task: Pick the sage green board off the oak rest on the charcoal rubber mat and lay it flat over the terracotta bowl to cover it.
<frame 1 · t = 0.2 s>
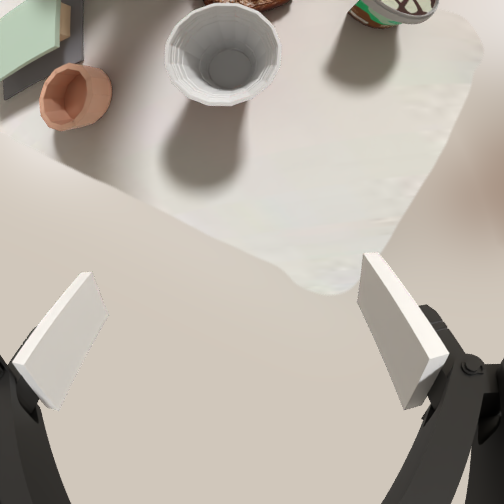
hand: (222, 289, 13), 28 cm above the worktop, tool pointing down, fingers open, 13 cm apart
food container: (383, 16, 27), on the worktop
sheet: (20, 35, 22), point 5 cm above the worktop, touching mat
bowl: (86, 96, 32), on the worktop
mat: (39, 39, 26), on the worktop
plastic cup: (231, 70, 32), on the worktop
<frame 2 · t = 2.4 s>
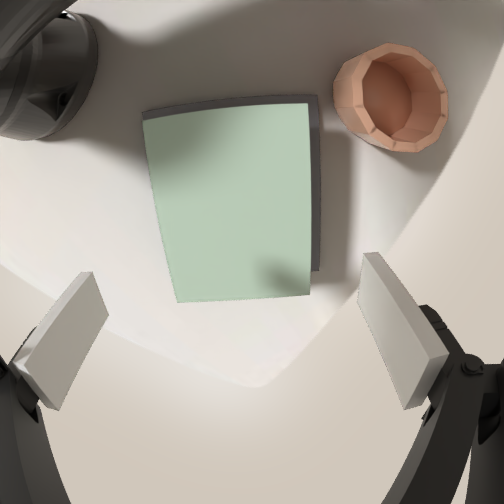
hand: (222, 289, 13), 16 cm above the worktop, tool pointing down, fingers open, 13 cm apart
sheet: (233, 208, 23), point 5 cm above the worktop, touching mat
bowl: (375, 98, 23), on the worktop
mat: (236, 192, 28), on the worktop
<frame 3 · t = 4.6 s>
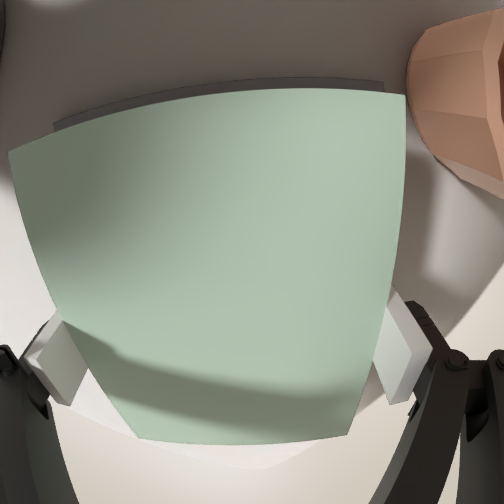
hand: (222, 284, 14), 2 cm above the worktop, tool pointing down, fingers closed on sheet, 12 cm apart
sheet: (216, 328, 11), point 5 cm above the worktop, touching gripper, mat
bowl: (468, 99, 11), on the worktop
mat: (226, 264, 15), on the worktop
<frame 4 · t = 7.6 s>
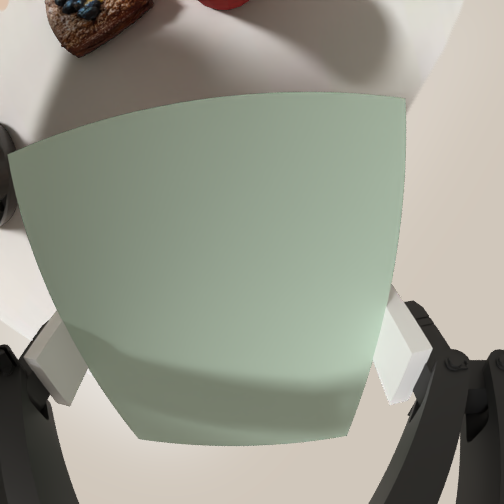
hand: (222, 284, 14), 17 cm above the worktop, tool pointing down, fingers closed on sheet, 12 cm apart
sheet: (216, 330, 11), point 20 cm above the worktop, touching gripper
pastry: (101, 3, 19), on the worktop
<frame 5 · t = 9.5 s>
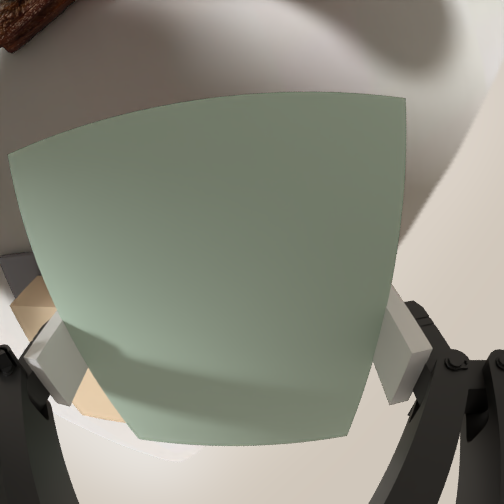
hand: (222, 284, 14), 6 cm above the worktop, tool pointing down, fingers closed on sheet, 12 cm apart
sheet: (216, 330, 11), point 9 cm above the worktop, touching gripper
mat: (92, 335, 23), on the worktop
when the fingers open (5 cm above the worktop, at t = 10.9 s): sheet drops 2 cm, resting on bowl.
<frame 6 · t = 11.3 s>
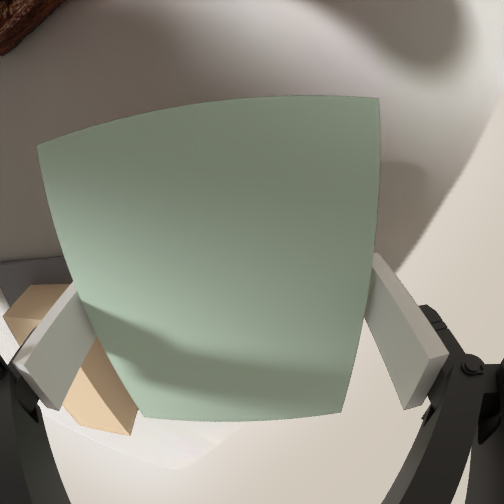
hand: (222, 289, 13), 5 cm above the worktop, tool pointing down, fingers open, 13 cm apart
sheet: (220, 303, 12), point 6 cm above the worktop, touching bowl
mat: (89, 346, 22), on the worktop
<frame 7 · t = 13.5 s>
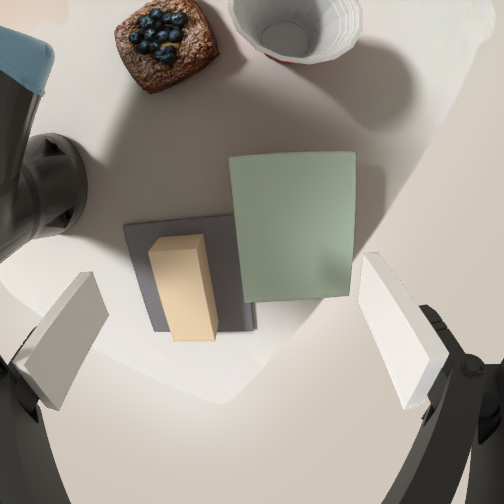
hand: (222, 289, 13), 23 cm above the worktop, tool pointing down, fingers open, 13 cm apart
sheet: (295, 229, 30), point 6 cm above the worktop, touching bowl
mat: (191, 280, 40), on the worktop
plastic cup: (286, 41, 27), on the worktop
pastry: (168, 43, 27), on the worktop
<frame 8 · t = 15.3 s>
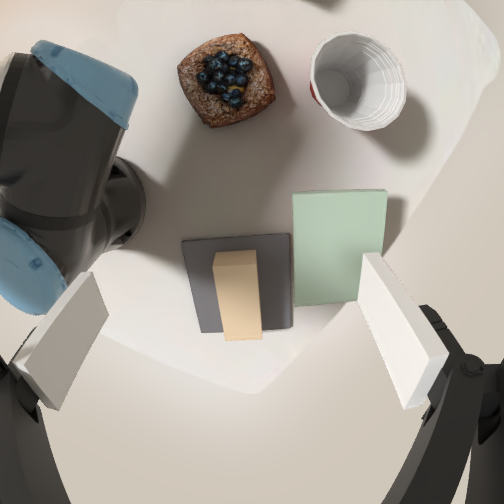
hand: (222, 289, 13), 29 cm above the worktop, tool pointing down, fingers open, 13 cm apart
sheet: (338, 248, 38), point 6 cm above the worktop, touching bowl
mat: (240, 287, 48), on the worktop
plastic cup: (331, 87, 34), on the worktop
pastry: (226, 81, 34), on the worktop
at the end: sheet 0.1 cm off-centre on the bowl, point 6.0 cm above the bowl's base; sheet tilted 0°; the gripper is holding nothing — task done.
